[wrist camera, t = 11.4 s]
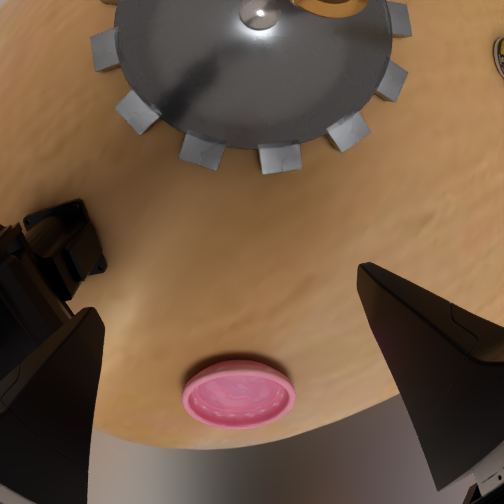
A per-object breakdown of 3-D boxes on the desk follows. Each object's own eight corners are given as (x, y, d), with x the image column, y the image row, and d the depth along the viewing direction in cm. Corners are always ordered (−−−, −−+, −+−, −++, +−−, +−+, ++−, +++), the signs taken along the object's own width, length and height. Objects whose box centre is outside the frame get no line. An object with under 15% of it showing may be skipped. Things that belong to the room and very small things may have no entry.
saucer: (172, 398, 34) (170, 420, 31) (201, 336, 28) (200, 361, 26) (263, 415, 37) (266, 434, 34) (311, 360, 32) (317, 383, 29)
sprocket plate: (132, 194, 21) (123, 205, 19) (91, -54, 10) (79, -64, 8) (409, 153, 20) (425, 160, 19) (370, -81, 10) (382, -91, 8)
